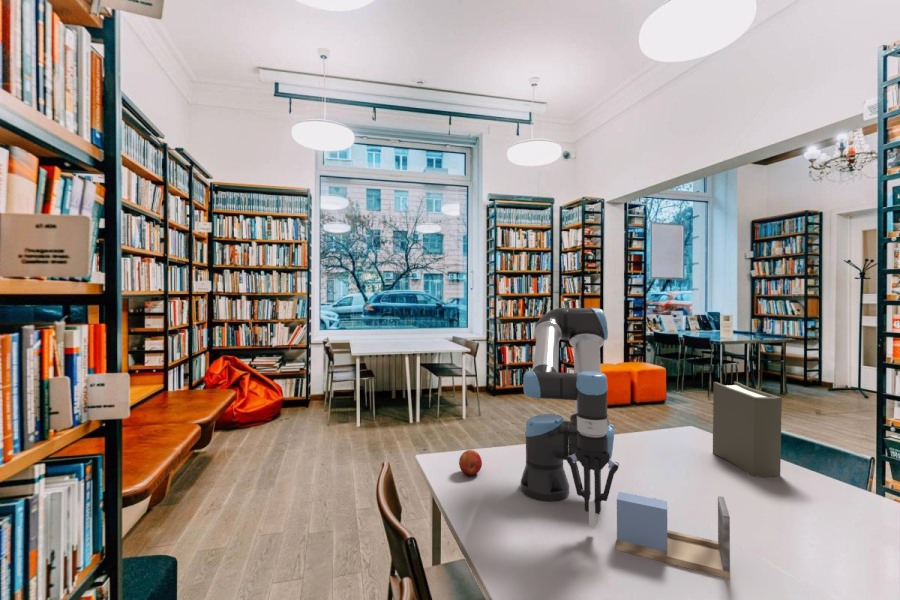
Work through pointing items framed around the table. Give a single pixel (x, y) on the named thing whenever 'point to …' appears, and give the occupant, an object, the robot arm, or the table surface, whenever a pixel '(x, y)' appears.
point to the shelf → (693, 548)
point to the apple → (470, 462)
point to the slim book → (642, 521)
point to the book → (747, 428)
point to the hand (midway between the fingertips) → (592, 524)
